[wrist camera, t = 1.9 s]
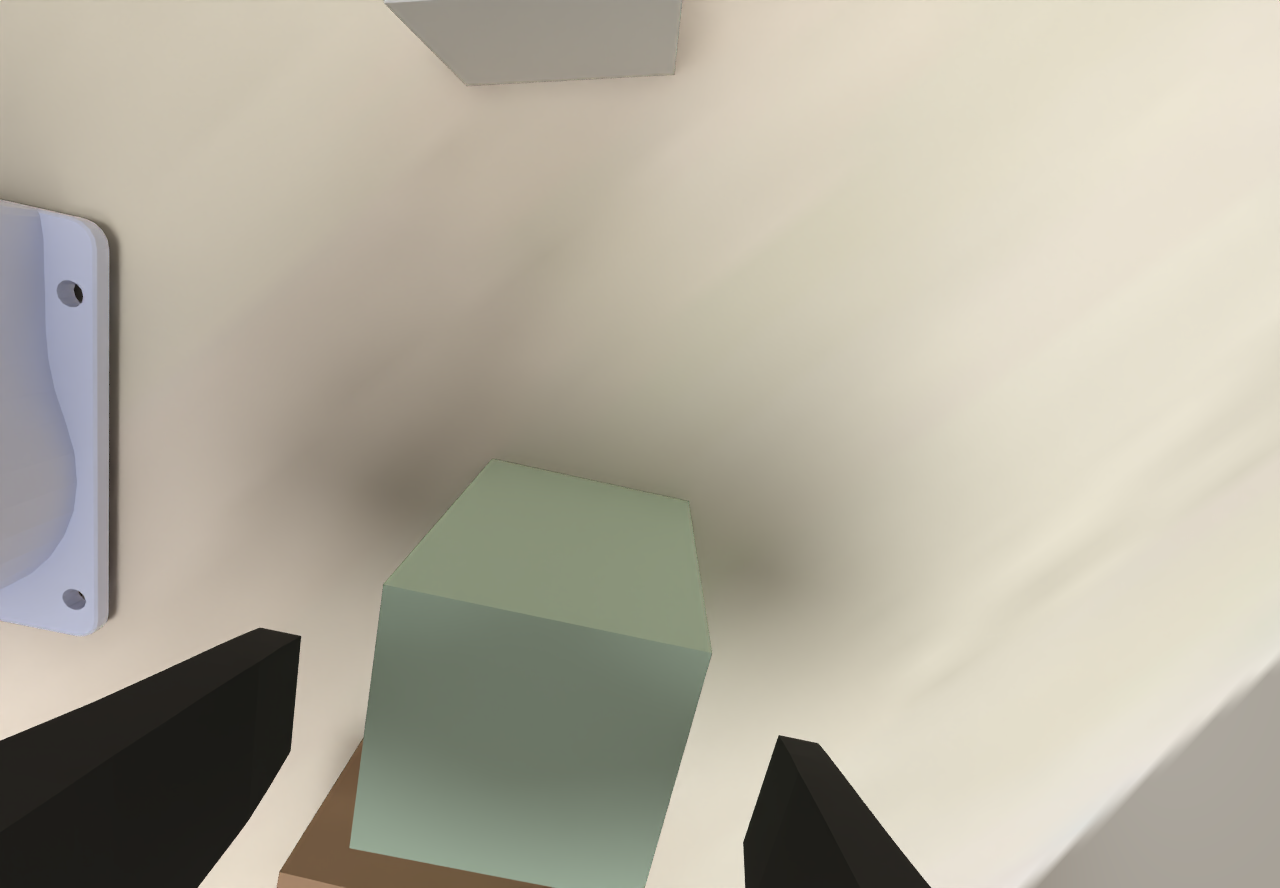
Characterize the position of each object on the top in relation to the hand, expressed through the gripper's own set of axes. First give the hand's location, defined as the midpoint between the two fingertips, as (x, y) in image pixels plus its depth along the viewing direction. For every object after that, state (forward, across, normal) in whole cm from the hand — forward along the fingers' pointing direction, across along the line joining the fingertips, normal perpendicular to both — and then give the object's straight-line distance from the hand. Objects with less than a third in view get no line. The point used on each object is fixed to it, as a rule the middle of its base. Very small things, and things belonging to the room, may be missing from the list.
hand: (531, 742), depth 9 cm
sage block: (+6, 0, 0) cm, 6 cm away
